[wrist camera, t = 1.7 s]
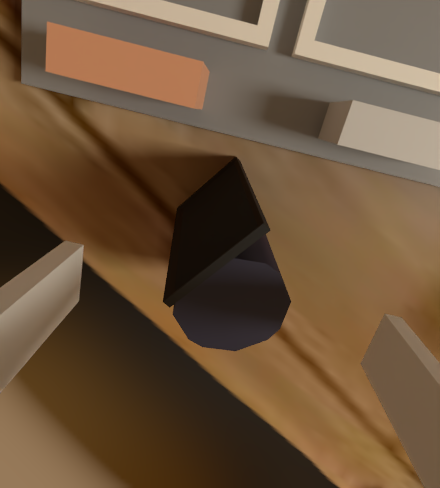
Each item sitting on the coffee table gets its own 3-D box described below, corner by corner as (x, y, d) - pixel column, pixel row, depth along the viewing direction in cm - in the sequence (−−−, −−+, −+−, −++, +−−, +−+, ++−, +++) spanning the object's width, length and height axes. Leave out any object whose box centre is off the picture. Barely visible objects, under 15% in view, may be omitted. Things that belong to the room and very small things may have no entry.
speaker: (156, 187, 22) (121, 263, 13) (238, 155, 21) (264, 212, 12) (199, 277, 25) (196, 391, 16) (272, 252, 25) (313, 356, 15)
